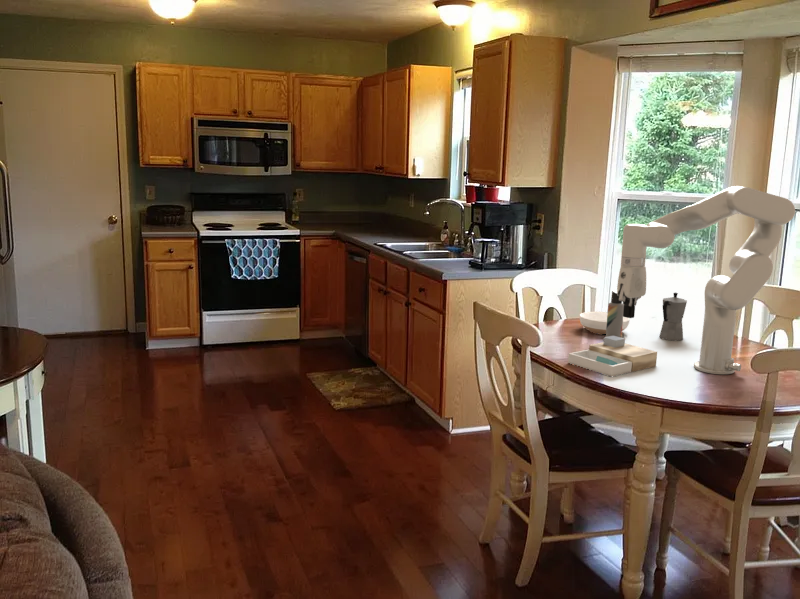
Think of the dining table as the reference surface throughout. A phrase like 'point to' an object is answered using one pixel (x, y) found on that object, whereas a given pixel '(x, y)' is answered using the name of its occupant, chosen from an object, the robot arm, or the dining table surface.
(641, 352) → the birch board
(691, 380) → the dining table surface
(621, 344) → the slate tile
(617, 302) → the lotion bottle
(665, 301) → the coffeepot
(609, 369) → the box
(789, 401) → the dining table surface
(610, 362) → the teal tile
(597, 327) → the bowl
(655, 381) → the dining table surface
